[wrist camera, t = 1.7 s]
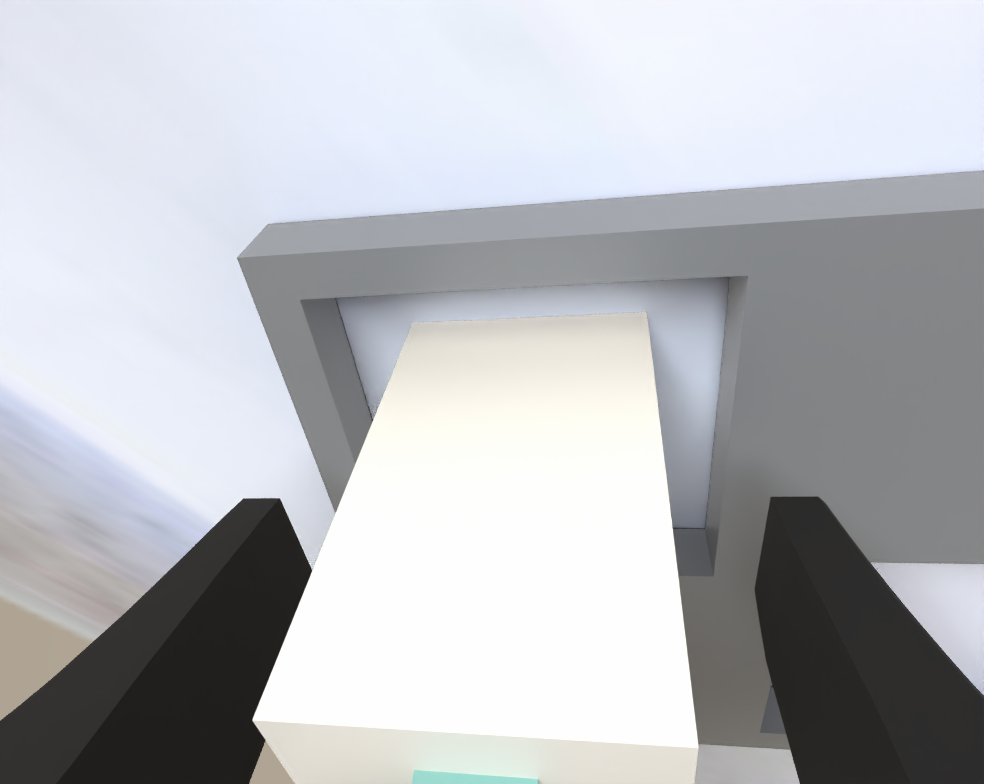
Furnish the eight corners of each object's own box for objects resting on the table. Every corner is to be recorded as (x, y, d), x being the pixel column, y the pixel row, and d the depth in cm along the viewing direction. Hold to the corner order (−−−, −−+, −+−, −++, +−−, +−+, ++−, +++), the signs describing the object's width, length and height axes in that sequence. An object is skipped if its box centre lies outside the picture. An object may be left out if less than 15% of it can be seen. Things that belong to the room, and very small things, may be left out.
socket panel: (1495, 132, 8) (1615, 167, 7) (1058, 716, 16) (1086, 767, 16) (267, 224, 11) (236, 257, 10) (426, 684, 19) (417, 726, 18)
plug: (646, 311, 11) (711, 860, 5) (644, 484, 13) (686, 998, 7) (412, 322, 12) (213, 815, 6) (449, 485, 14) (339, 954, 8)
